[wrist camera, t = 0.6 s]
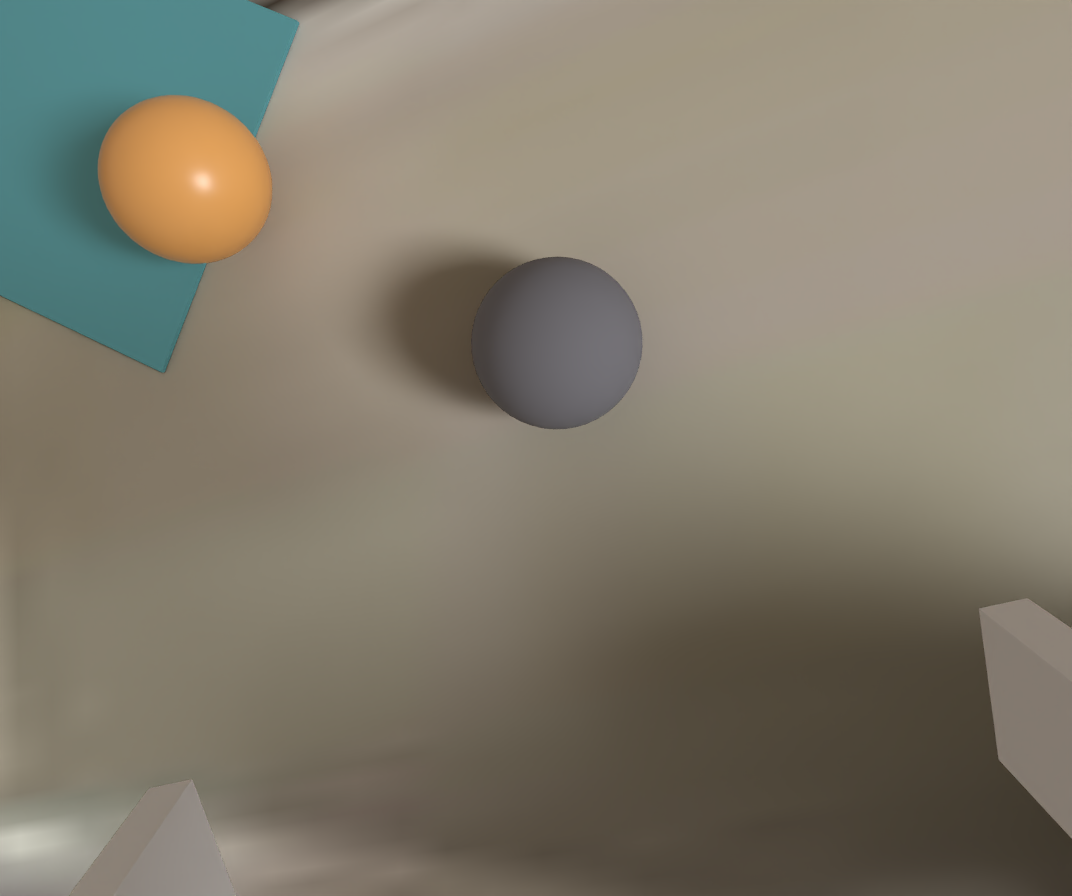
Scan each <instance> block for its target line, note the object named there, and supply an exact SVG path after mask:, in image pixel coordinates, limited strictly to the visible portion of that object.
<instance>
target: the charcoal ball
mask: <svg viewBox="0 0 1072 896" xmlns="http://www.w3.org/2000/svg"><path fill="white" fill-rule="evenodd" d="M471 345H472V356H473V362H474V366H475V369H476V372H477V375H478V377H479V379H480V382H481V384H482V386H483V387H484V389H485V390H486V392H487V394H488V395H489V396H490V397H491V399H492V400H493V401H494V402H495V403H496V404H497V405H498V406H499V407H500V408H501V409H502V410H503V411H505V412H506V413H508V414H509V415H510V416H512V417H514V418H516V419H518V420H519V421H521V422H524V423H527V424H529V425H532V426H536V427H541V428H547V429H567V428H573V427H578V426H581V425H584V424H587V423H589V422H592V421H594V420H596V419H598V418H599V417H601V416H603V415H604V414H606V413H607V412H608V411H610V410H611V409H612V408H613V407H614V406H615V405H616V404H617V403H618V402H619V401H620V400H621V399H622V398H623V397H624V395H625V394H626V392H627V391H628V390H629V388H630V386H631V384H632V383H633V381H634V379H635V376H636V374H637V371H638V368H639V364H640V360H641V354H642V331H641V325H640V321H639V317H638V314H637V311H636V309H635V307H634V305H633V303H632V301H631V299H630V298H629V296H628V294H627V293H626V292H625V290H624V289H623V288H622V287H621V286H620V284H619V283H618V282H617V281H616V280H615V279H613V278H612V277H611V276H610V275H609V274H607V273H606V272H605V271H603V270H602V269H600V268H598V267H596V266H594V265H592V264H590V263H587V262H585V261H582V260H578V259H573V258H567V257H548V258H542V259H537V260H533V261H530V262H527V263H524V264H522V265H520V266H518V267H516V268H514V269H513V270H511V271H510V272H508V273H507V274H505V275H504V276H503V277H502V278H501V279H499V280H498V281H497V282H496V283H495V284H494V285H493V287H492V288H491V289H490V290H489V291H488V293H487V294H486V296H485V297H484V299H483V301H482V303H481V305H480V307H479V309H478V311H477V314H476V317H475V320H474V325H473V329H472V339H471Z"/></svg>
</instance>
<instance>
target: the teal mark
mask: <svg viewBox="0 0 1072 896" xmlns="http://www.w3.org/2000/svg"><path fill="white" fill-rule="evenodd" d="M298 25H299V22H298V21H297V20H294V19H292V18H289V17H287V16H284V15H282V14H279V13H277V12H274V11H272V10H269V9H267V8H264V7H262V6H259V5H257V4H255V3H252V2H250V1H247V0H0V296H2V297H4V298H7V299H9V300H11V301H13V302H15V303H17V304H19V305H21V306H23V307H25V308H28V309H30V310H32V311H34V312H36V313H38V314H40V315H42V316H44V317H46V318H49V319H51V320H53V321H55V322H57V323H59V324H61V325H63V326H65V327H67V328H70V329H72V330H74V331H76V332H78V333H80V334H82V335H84V336H86V337H88V338H91V339H93V340H95V341H97V342H99V343H101V344H103V345H105V346H107V347H109V348H112V349H114V350H116V351H118V352H120V353H122V354H124V355H126V356H128V357H130V358H133V359H135V360H137V361H139V362H141V363H143V364H145V365H147V366H149V367H151V368H154V369H156V370H158V371H160V372H165V370H166V367H167V365H168V362H169V360H170V357H171V354H172V352H173V349H174V347H175V344H176V341H177V339H178V336H179V334H180V331H181V328H182V326H183V323H184V321H185V318H186V315H187V313H188V310H189V308H190V305H191V303H192V300H193V297H194V295H195V292H196V290H197V287H198V284H199V282H200V279H201V277H202V274H203V271H204V269H205V266H206V264H207V263H200V264H190V263H181V262H176V261H172V260H168V259H165V258H163V257H160V256H158V255H155V254H153V253H151V252H149V251H148V250H146V249H144V248H143V247H141V246H140V245H138V244H137V243H136V242H134V241H133V240H132V239H131V238H130V237H129V236H128V235H127V234H126V233H125V232H124V231H123V230H122V229H121V228H120V227H119V226H118V224H117V223H116V222H115V220H114V219H113V217H112V215H111V214H110V212H109V210H108V209H107V207H106V204H105V202H104V200H103V197H102V194H101V190H100V186H99V180H98V158H99V152H100V148H101V145H102V142H103V140H104V137H105V135H106V133H107V132H108V130H109V128H110V127H111V125H112V124H113V123H114V121H115V120H116V119H117V118H118V117H119V116H120V115H121V114H122V113H124V112H125V111H126V110H127V109H129V108H130V107H132V106H134V105H136V104H137V103H139V102H142V101H144V100H146V99H150V98H154V97H158V96H164V95H184V96H191V97H196V98H199V99H203V100H206V101H209V102H211V103H213V104H215V105H217V106H219V107H221V108H223V109H225V110H226V111H228V112H229V113H231V114H232V115H234V116H235V117H236V118H237V119H238V120H240V121H241V122H242V123H243V124H244V125H245V126H246V127H247V128H248V130H249V131H250V132H251V133H252V134H253V136H254V137H256V134H257V132H258V129H259V126H260V124H261V121H262V119H263V116H264V114H265V111H266V108H267V106H268V103H269V101H270V98H271V95H272V93H273V90H274V88H275V85H276V82H277V80H278V77H279V75H280V72H281V70H282V67H283V64H284V62H285V59H286V57H287V54H288V51H289V49H290V46H291V44H292V41H293V38H294V36H295V33H296V31H297V28H298Z"/></svg>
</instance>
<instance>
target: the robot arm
mask: <svg viewBox="0 0 1072 896" xmlns="http://www.w3.org/2000/svg"><path fill="white" fill-rule="evenodd" d="M979 614H980V622H981V630H982V637H983V645H984V652H985V660H986V668H987V675H988V683H989V690H990V698H991V706H992V713H993V721H994V729H995V736H996V744H997V751H998V759H999V761H1000V762H1001V763H1002V764H1003V765H1004V766H1005V767H1006V768H1007V769H1008V770H1009V771H1010V772H1011V774H1012V775H1013V776H1014V777H1015V778H1016V779H1017V780H1018V781H1019V782H1020V783H1021V784H1022V785H1023V787H1024V788H1025V789H1026V790H1027V791H1028V792H1029V793H1030V794H1031V795H1032V796H1033V797H1034V798H1035V800H1036V801H1037V802H1038V803H1039V804H1040V805H1041V806H1042V807H1043V808H1044V809H1045V810H1046V811H1047V812H1048V814H1049V815H1050V816H1051V817H1052V818H1053V819H1054V820H1055V821H1056V822H1057V823H1058V824H1059V825H1060V827H1061V828H1062V829H1063V830H1064V831H1065V832H1066V833H1067V834H1068V835H1069V836H1070V837H1071V838H1072V628H1070V627H1069V626H1068V625H1066V624H1065V623H1063V622H1062V621H1060V620H1059V619H1057V618H1056V617H1054V616H1053V615H1052V614H1050V613H1049V612H1047V611H1046V610H1044V609H1043V608H1041V607H1040V606H1038V605H1037V604H1036V603H1034V602H1033V601H1031V600H1030V599H1028V598H1025V599H1020V600H1016V601H1011V602H1007V603H1002V604H997V605H993V606H988V607H984V608H979ZM69 896H236V894H235V891H234V888H233V886H232V883H231V880H230V878H229V875H228V872H227V870H226V867H225V864H224V862H223V859H222V857H221V854H220V851H219V849H218V846H217V843H216V841H215V838H214V835H213V833H212V830H211V827H210V825H209V822H208V820H207V817H206V814H205V812H204V809H203V806H202V804H201V801H200V798H199V796H198V793H197V790H196V788H195V785H194V783H193V780H192V779H190V780H185V781H180V782H176V783H171V784H166V785H162V786H157V787H153V788H149V789H148V790H147V792H146V793H145V794H144V796H143V797H142V798H141V800H140V801H139V802H138V804H137V805H136V806H135V808H134V809H133V810H132V812H131V813H130V814H129V816H128V817H127V818H126V820H125V821H124V822H123V824H122V825H121V826H120V828H119V829H118V830H117V832H116V833H115V834H114V836H113V837H112V838H111V840H110V841H109V842H108V844H107V845H106V846H105V848H104V849H103V850H102V852H101V853H100V854H99V856H98V857H97V859H96V860H95V861H94V863H93V864H92V865H91V867H90V868H89V869H88V871H87V872H86V873H85V875H84V876H83V877H82V879H81V880H80V881H79V883H78V884H77V885H76V887H75V888H74V889H73V891H72V892H71V893H70V895H69Z"/></svg>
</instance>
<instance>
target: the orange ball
mask: <svg viewBox="0 0 1072 896" xmlns="http://www.w3.org/2000/svg"><path fill="white" fill-rule="evenodd" d="M98 180H99V186H100V190H101V194H102V197H103V200H104V202H105V204H106V207H107V209H108V210H109V212H110V214H111V215H112V217H113V219H114V220H115V222H116V223H117V224H118V226H119V227H120V228H121V229H122V230H123V231H124V232H125V233H126V234H127V235H128V236H129V237H130V238H131V239H132V240H133V241H134V242H136V243H137V244H138V245H140V246H141V247H143V248H144V249H146V250H148V251H149V252H151V253H153V254H155V255H158V256H160V257H163V258H165V259H168V260H172V261H176V262H181V263H190V264H200V263H211V262H215V261H219V260H222V259H225V258H228V257H230V256H232V255H234V254H236V253H238V252H239V251H241V250H242V249H243V248H245V247H246V246H247V245H248V244H249V243H250V242H251V241H252V240H254V238H255V237H256V236H257V235H258V233H259V232H260V230H261V229H262V227H263V226H264V223H265V221H266V219H267V217H268V214H269V211H270V206H271V201H272V178H271V173H270V168H269V165H268V162H267V159H266V157H265V155H264V152H263V150H262V148H261V146H260V145H259V143H258V141H257V140H256V138H255V137H254V136H253V134H252V133H251V132H250V131H249V130H248V128H247V127H246V126H245V125H244V124H243V123H242V122H241V121H240V120H238V119H237V118H236V117H235V116H234V115H232V114H231V113H229V112H228V111H226V110H225V109H223V108H221V107H219V106H217V105H215V104H213V103H211V102H209V101H206V100H203V99H199V98H196V97H191V96H184V95H164V96H158V97H154V98H150V99H146V100H144V101H142V102H139V103H137V104H136V105H134V106H132V107H130V108H129V109H127V110H126V111H125V112H124V113H122V114H121V115H120V116H119V117H118V118H117V119H116V120H115V121H114V123H113V124H112V125H111V127H110V128H109V130H108V132H107V133H106V135H105V137H104V140H103V142H102V145H101V148H100V152H99V158H98Z"/></svg>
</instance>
